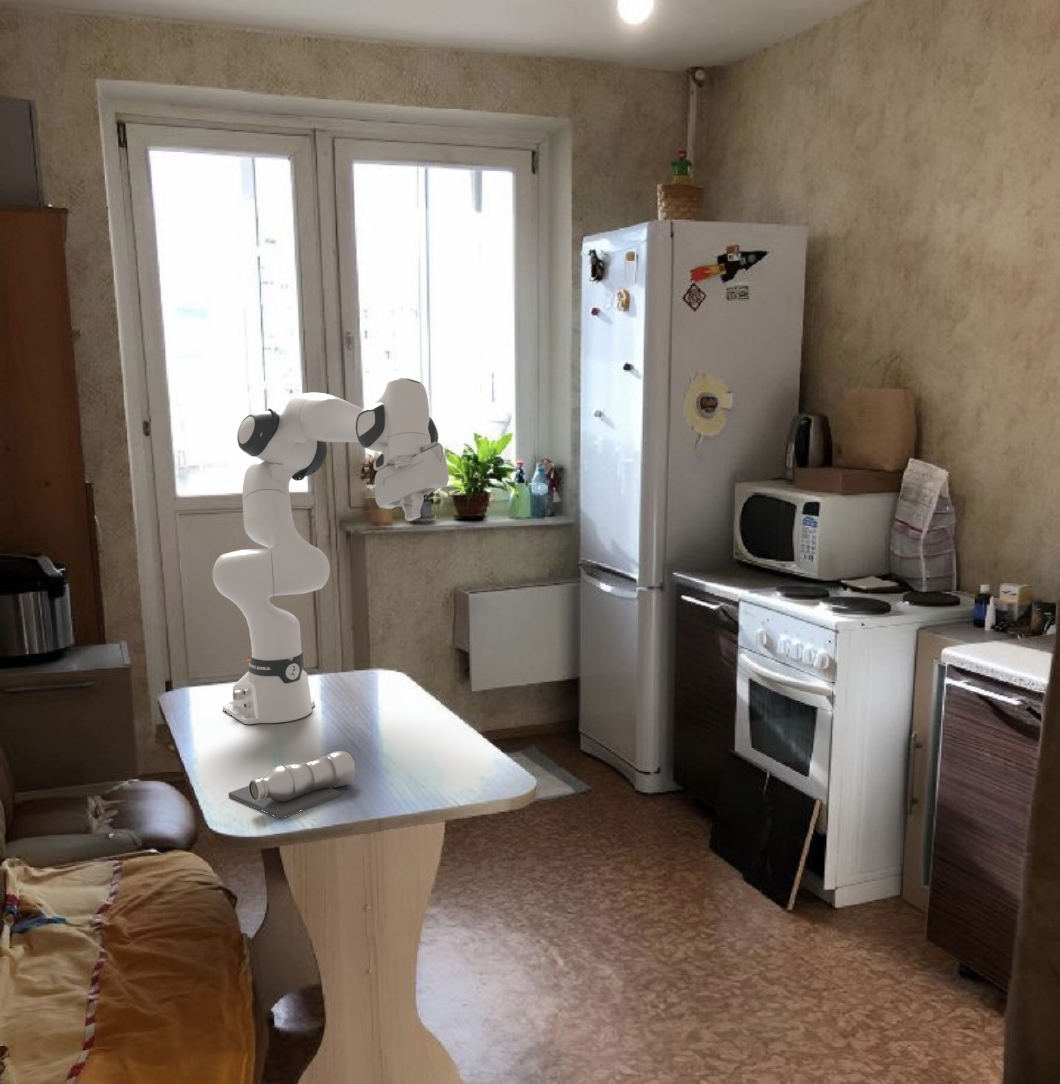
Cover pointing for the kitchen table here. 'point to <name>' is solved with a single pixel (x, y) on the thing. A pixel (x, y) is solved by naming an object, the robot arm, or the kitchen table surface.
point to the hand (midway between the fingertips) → (412, 519)
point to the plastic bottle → (304, 777)
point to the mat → (289, 806)
